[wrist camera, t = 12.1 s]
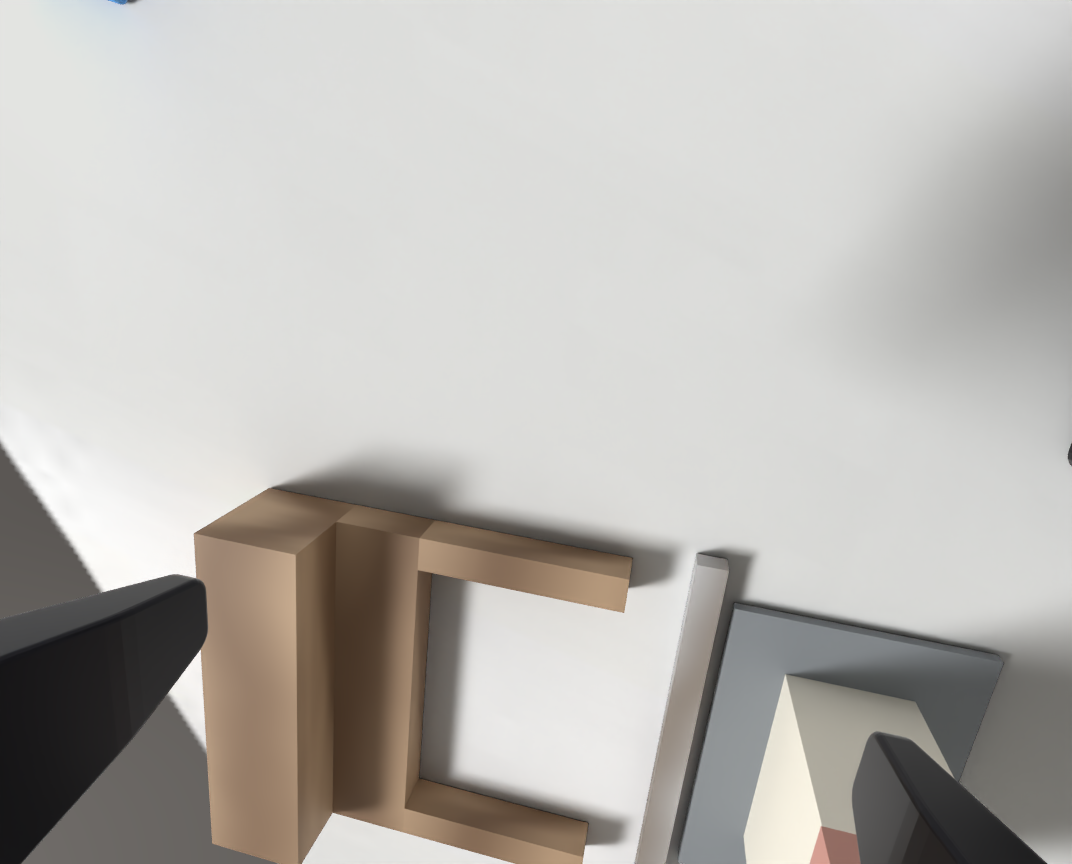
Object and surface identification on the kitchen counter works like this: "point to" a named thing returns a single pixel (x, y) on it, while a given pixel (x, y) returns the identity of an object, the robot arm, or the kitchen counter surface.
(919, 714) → the block
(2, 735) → the robot arm
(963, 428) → the kitchen counter surface
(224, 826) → the cradle
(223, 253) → the kitchen counter surface
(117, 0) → the ink box
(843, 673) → the mat
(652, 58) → the kitchen counter surface
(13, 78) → the kitchen counter surface
